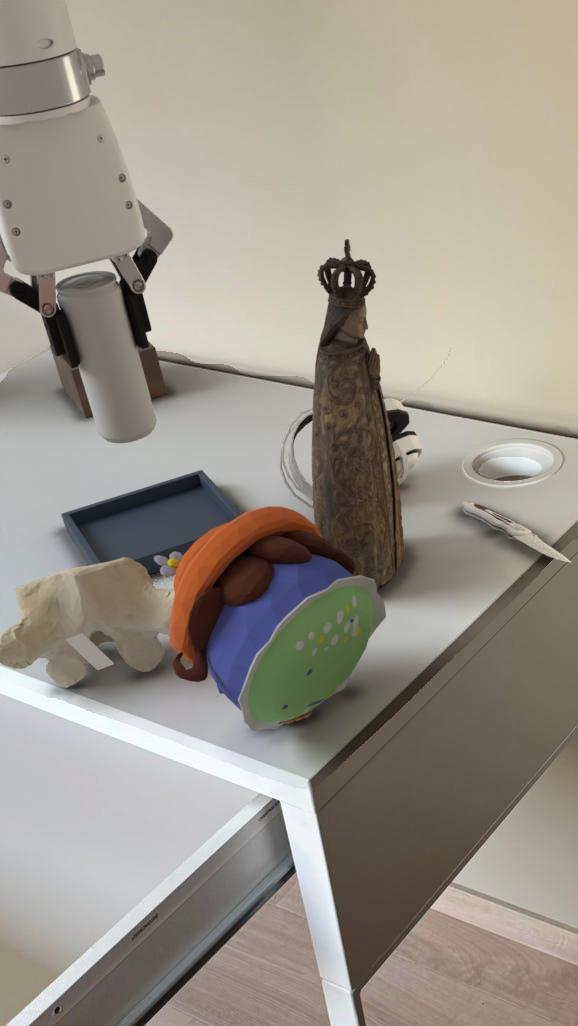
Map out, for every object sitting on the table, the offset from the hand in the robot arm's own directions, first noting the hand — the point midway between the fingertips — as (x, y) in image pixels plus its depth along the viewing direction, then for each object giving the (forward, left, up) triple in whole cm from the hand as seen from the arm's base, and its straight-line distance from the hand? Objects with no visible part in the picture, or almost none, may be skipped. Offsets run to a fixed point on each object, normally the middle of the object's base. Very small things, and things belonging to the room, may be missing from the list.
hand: (105, 350), depth 93 cm
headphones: (+3, +21, -16) cm, 27 cm away
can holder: (-34, +6, -16) cm, 38 cm away
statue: (+17, +12, -16) cm, 27 cm away
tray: (0, 0, -16) cm, 16 cm away
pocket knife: (+20, +23, -15) cm, 34 cm away
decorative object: (+13, -11, -9) cm, 19 cm away
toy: (+35, +2, -11) cm, 37 cm away
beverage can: (0, 0, -7) cm, 7 cm away
